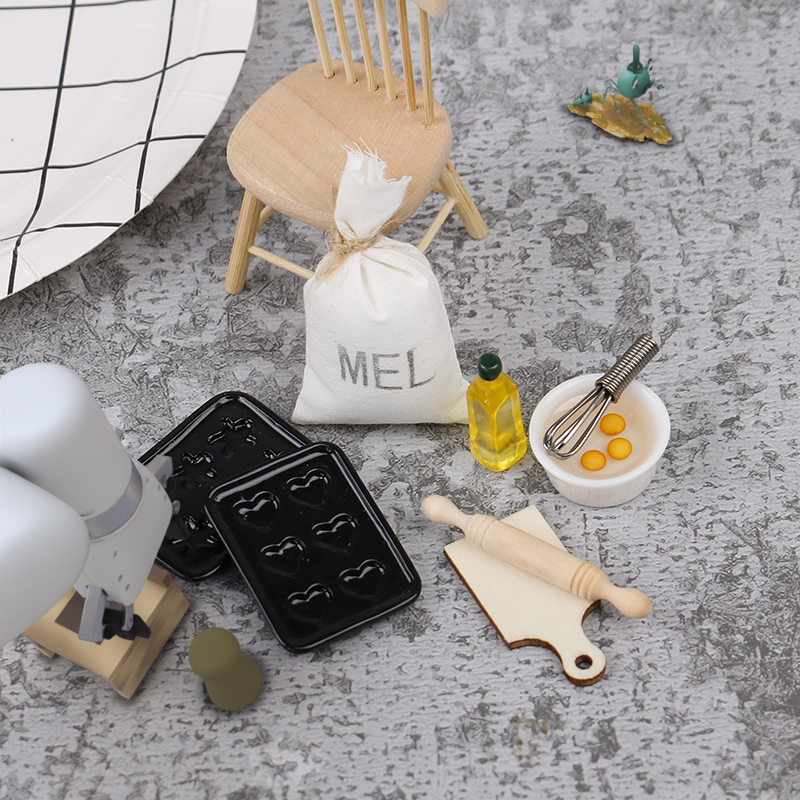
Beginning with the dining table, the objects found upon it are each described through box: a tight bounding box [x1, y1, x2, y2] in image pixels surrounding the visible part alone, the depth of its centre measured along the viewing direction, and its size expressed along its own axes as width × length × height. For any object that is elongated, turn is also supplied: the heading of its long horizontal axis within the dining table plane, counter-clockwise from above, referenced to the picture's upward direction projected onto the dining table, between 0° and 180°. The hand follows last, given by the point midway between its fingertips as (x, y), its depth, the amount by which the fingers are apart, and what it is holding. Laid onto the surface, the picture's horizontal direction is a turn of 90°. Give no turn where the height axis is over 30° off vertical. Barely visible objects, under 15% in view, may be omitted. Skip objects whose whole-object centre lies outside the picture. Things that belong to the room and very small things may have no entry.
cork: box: [187, 626, 263, 712], centre depth 98 cm, size 6×6×11 cm
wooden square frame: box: [20, 564, 191, 700], centre depth 103 cm, size 12×12×9 cm
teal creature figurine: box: [567, 43, 673, 145], centre depth 144 cm, size 10×18×15 cm, turn 49°
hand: (155, 582), depth 86 cm, fingers open, 9 cm apart
